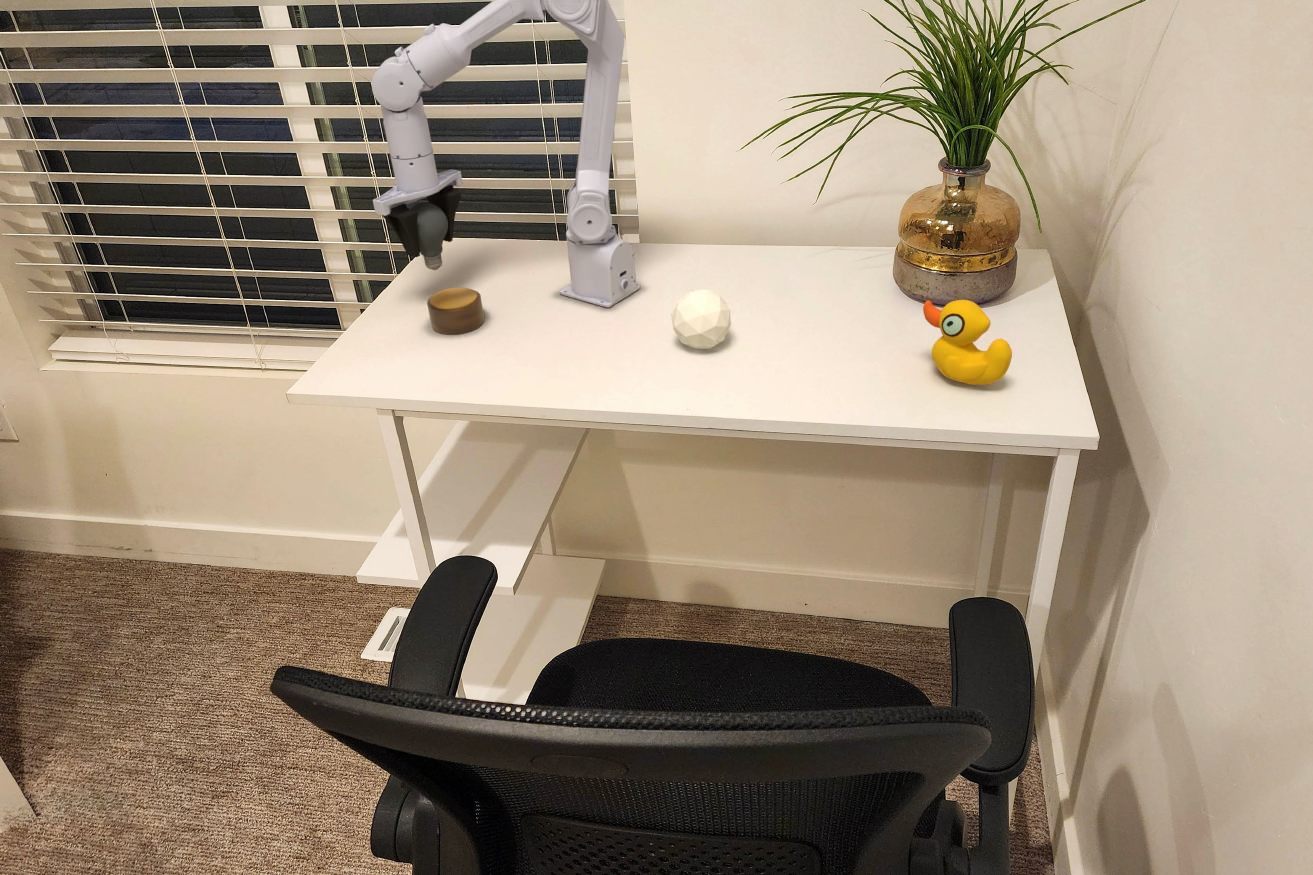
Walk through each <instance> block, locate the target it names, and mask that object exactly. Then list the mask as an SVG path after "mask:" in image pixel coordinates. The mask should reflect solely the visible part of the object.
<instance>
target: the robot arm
mask: <svg viewBox="0 0 1313 875" xmlns="http://www.w3.org/2000/svg"><path fill="white" fill-rule="evenodd" d="M546 12H547V13H548V15H549V16H550V17H552V19H554V20H555V21H556V22H558V23H559V24H561V25H562V26H564V27H566V28H568V29H569V30H571V31H572V32H573V33H574V34H575V35H576V37H577V38H578V39H579V40H580V41H581V43H582V44H583V45H584V46H585V48H586V49H587V58H586V69H585V80H584V90H583V100H582V102H583V103H582V110H581V111H582V113H581V122H580V123H581V124H580V132H579V142H578V144H579V145H578V154H577V163H576V171H575V177H574V182H573V184H572V186H571V187H570V189H569V190H568V193H567V196H566V206H567V216H566V226H567V230H566V232H565V236H566V245H567V246H566V247H567V256H568V265H569V274H570V275H569V276H570V284H569V285H567V286H566V287H563V288H562V289H560V290H559V294H560V295H562V296H566V297H570V298H572V299H576V300H580V301H583V302H587V303H590V304H594V305H597V306H599V307H600V306H601V307H604V308H610V307H612V306H614V305H615V304H617V303H619V302H620V301H622V300H624V299H626V297H628V296H630V295H631V294H633V293H634V292H636V291H638V290H639V289H640V287H641V286H640V285H639V284H637V277H636V276H637V275H636V257H635V251H634V250H635V249H634V248H633V246H632V244H631V243H630V242H628V241H626V240H625V239H622V238H621V237H620V236H619V235H618V234H617V231H616V227H615V225H613V217H612V213H611V208H610V204H611V198H610V194H609V192H610V191H609V190H610V188H609V187H610V172H611V171H610V169H611V163H612V162H611V161H612V160H611V159H612V152H613V144H614V136H615V127H616V126H615V125H616V117H617V107H618V99H619V91H620V82H621V74H622V65H623V56H624V48H625V38H624V33H623V32H624V31H623V29H622V27H621V25H620V22H619V20H618V18H617V17H616V15H615V13H614V11H613V9H612V6H611V5H610V2H609V0H492V1H490V3H488V4H487V5H486V6H484V7H483V8H482V9H480V10H478V11H477V12H476V13H475V14H472V16H470V17H468V18H467V19H466V20H465V21H464V22H462V23H461V24H459V25H451V24H448V23H444V22H443V23H440V24H439V25H437V26H435V24H434V23H431V24H430V25H428V26H427V27H424V28H425V29H424V30H423V33H424V35H423V36H421V37H420V38H418V39H417V40H415V41H414V42H412V43H411V44H410V45H408V46H407V47H405V48H404V47H402V46H400V47H398V48H396V49H395V51H394V54H395V56H391V57H389V58H386V59H385V60H384V61H383V62H382V63H381V64H380V66H379V67H378V68H377V70H376V71H375V73H374V74H373V77H372V80H371V91H372V94H373V96H374V98H375V100H376V102H378V103H379V105H380V109H381V114H382V118H383V121H382V122H383V128H384V133H385V137H386V142H387V147H388V151H389V156H390V160H391V161H390V162H391V165H392V171H393V175H394V179H395V182H394V186H393V187H391V189H389V190H387V191H386V192H385V193H383V194H381V195H380V196H378V197H376V198H374V199H372V204H373V209H374V212H375V214H377V215H380V216H381V217H382V218H383V219H384V220H385V221H386V222H387V223H388V224H389V226H390V227H391V228H392V230H393V232H394V233H395V234H396V236H397V237H398V239H399V241H400V243H401V245H402V247H403V249H404V250H405V253H406V255H407V256H409V257H412V258H419V257H420V256H421V253H420V247H419V242H418V236H417V217H418V213H417V212H414V211H410V210H409V209H410V207H407V205H410V204H413V203H416V202H418V201H420V200H423V199H426V200H427V201H428V203H432V204H434V205H436V206H438V207H439V208H440V209H441V210H442V211H443V212H444V214H445V216H446V218H447V221H448V229H447V233H446V235H445V237H444V240H443V242H447V243H451V242H453V239H454V228H455V226H454V225H455V218H456V214H457V210H458V207H459V204H460V202H461V199H462V192H461V190H459V189H455V188H454V186H455V187H459V186H462V185H463V184H464V182H463V177H462V176H463V175H462V171H461V170H457V169H453V168H451V169H448V170H445V171H441V172H438V171H437V170H438V169H437V165H436V160H435V155H434V149H433V144H432V138H431V133H430V127H429V123H428V117H427V115H426V112H425V107H424V101H423V97H422V96H421V94H422V92H426V91H427V92H430V91H432V90H434V89H435V88H437V87H438V86H439V85H441V84H442V83H444V82H446V81H447V80H448V79H450V78H452V76H454V75H456V74H457V73H460V71H462V70H463V69H465V68H467V67H468V66H469V65H470V64H471V56H472V50H474V49H475V48H477V47H479V46H480V45H482V44H484V43H485V42H487V41H489V40H491V39H492V38H493V37H495V36H496V35H499V34H500V33H502V32H503V31H505V30H506V29H508V28H509V27H511V26H513V25H515V24H516V23H518V22H519V21H521V20H534V21H545V20H546V14H547V13H546Z"/></svg>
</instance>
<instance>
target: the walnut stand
mask: <svg viewBox="0 0 1313 875" xmlns="http://www.w3.org/2000/svg"><path fill="white" fill-rule="evenodd" d="M426 305H427V310H428V316H429V320H430V324H431V328H432V330H433V331H434V332H435V333H438V334H441V335H448V336H458V335H462V334H463V335H464V334H467V333H470V332H473V331H475V330H477V329H479V328H480V327H482V326H483V325H484V323H485V314H484V313H485V312H484V307H483V301H482V295H481V293H480V292H479V291H477V290H475V289H472V288H469V287H462V286H461V287H460V286H459V287H450V288H445V289H442V290H440V291H437V292H436V293H434V294H432V295H431V296H430V297H429V298H428V299H427V302H426Z"/></svg>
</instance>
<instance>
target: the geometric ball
mask: <svg viewBox="0 0 1313 875" xmlns="http://www.w3.org/2000/svg"><path fill="white" fill-rule="evenodd" d="M670 315H671V321H672V330H673V331H674V333H675V334H676V335H677V338H678V340H679V341H680V343H682V344H684V345H686V346H689V347H691V348H693V349H695V350H703V349H704V350H705V349H709V350H710V349H712V348H713V347H714V346H716V345H719V344H720V343H721V342H722V341H724V340H725V339H726V337H727V334H728V332H729V330H730V328H731V327H732V319H731V309H730V307H729V306H728V305H727V303H726V302H725V300H724V298H723V297H722V296H721V295H719V294H717V293H715V292H713V291H711V290H709V289H708V288H705V289H694V290H693V289H692V290H691V291H689V292H688V293H686V294H685V295H683V296H681V297H680V298H678V299H677V301H676V304H675V306H674V308H673V309H672V312H671V314H670Z"/></svg>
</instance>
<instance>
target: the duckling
mask: <svg viewBox="0 0 1313 875" xmlns="http://www.w3.org/2000/svg"><path fill="white" fill-rule="evenodd" d="M922 312H923V316H924V320H926V322H927V323H928V324H930V325H931V326H932V327H934V328H938V329H940V332H941V336H940V337H939V338H938V339H937V340H936V341H935V342H934V343H933V346H932V348H931V358H932V361H933V363H934V364H935V365H936V367H937V369H938V371H939V372H940V373H941V374H942V375H943V376H944V377H945V378H947V379H949V380H952V381H955V382H958V383H959V382H960V383H963V384H967V385H970V386H971V385H972V386H982V385H983V386H984V385H990V384H994V383H996V382H997V381H998V382H999V380H1001V379H1002V378H1004V376H1005V375H1006V373H1007V372H1008V369H1009V368H1010V366H1011V362H1012V358H1013V350H1012V348H1011V346H1010V344H1009V342H1008V341H1007V340H1005V339H1003V338H996V339H994V340H993V341H992V342H991V343H990V345H989V346H988V347H987V349H986V350H981V349H979V348H978V347H977V346H976V344H974V343H975V342H976V341H978V340H979V339H980V338H981V337H982V335H984V334H986V333H987V331H988V330H989V329H990V328H991V319H990V318H989V316H988V315H987V314H986V312H985V311H984V310H983V309H982V308H981V306H979V305H978V304H977V303H975V302H974V301H971V300H968V299H957V300H952V301H950V302H948V303H947V304H946V305H945V306H943V308H942V309H939V308H937V307H936V306H935V305H933V303H932V301H931V300H926V301H925V302H924V303H923V306H922Z"/></svg>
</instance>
